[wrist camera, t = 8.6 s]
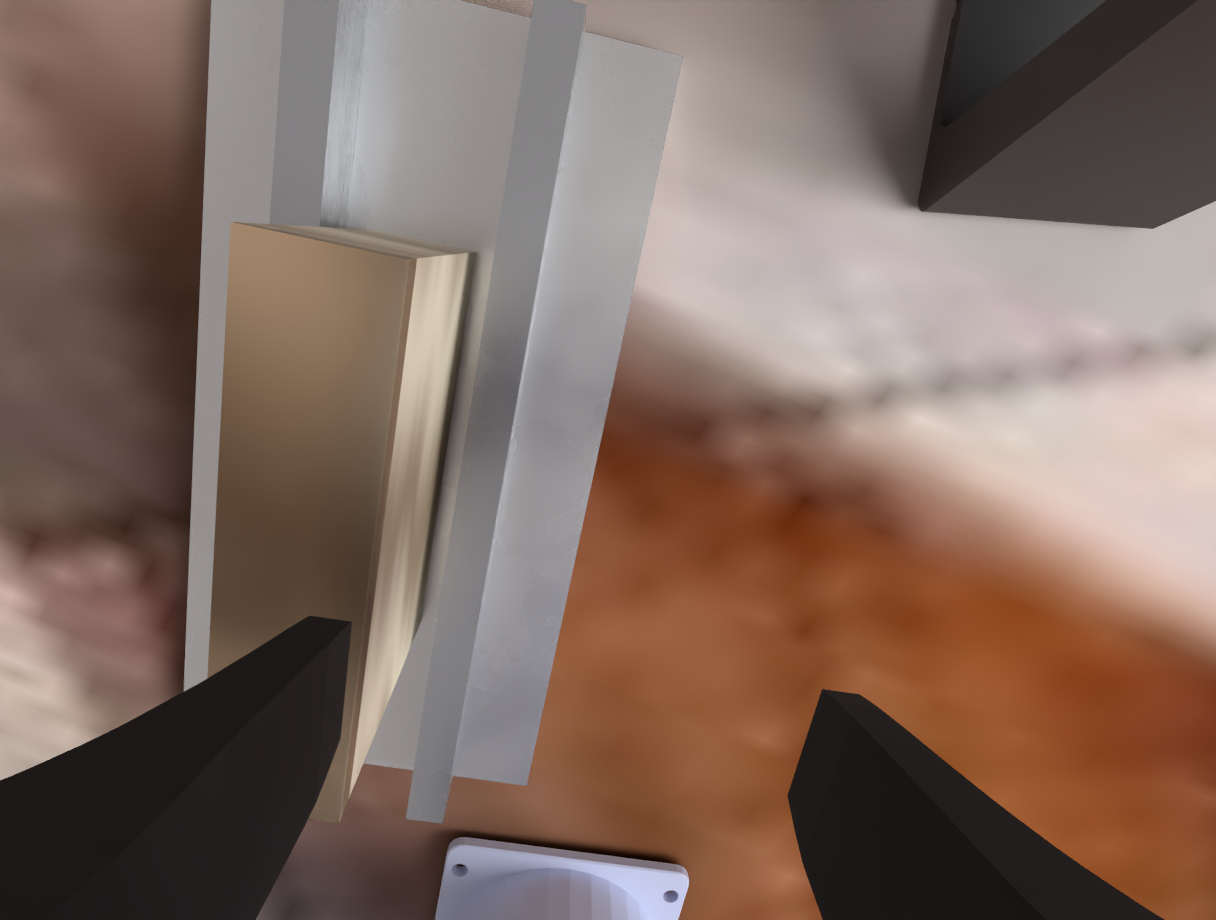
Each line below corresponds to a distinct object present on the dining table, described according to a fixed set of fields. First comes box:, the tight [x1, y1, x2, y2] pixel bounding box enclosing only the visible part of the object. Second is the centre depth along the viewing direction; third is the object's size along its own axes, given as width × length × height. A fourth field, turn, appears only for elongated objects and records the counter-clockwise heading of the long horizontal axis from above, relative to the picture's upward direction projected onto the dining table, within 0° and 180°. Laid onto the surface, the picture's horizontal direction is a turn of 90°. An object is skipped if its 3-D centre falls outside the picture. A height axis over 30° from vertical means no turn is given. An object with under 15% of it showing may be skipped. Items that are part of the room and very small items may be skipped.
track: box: [184, 0, 683, 824], centre depth 17 cm, size 20×10×3 cm, turn 168°
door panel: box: [207, 222, 476, 823], centre depth 14 cm, size 10×2×7 cm, turn 168°
